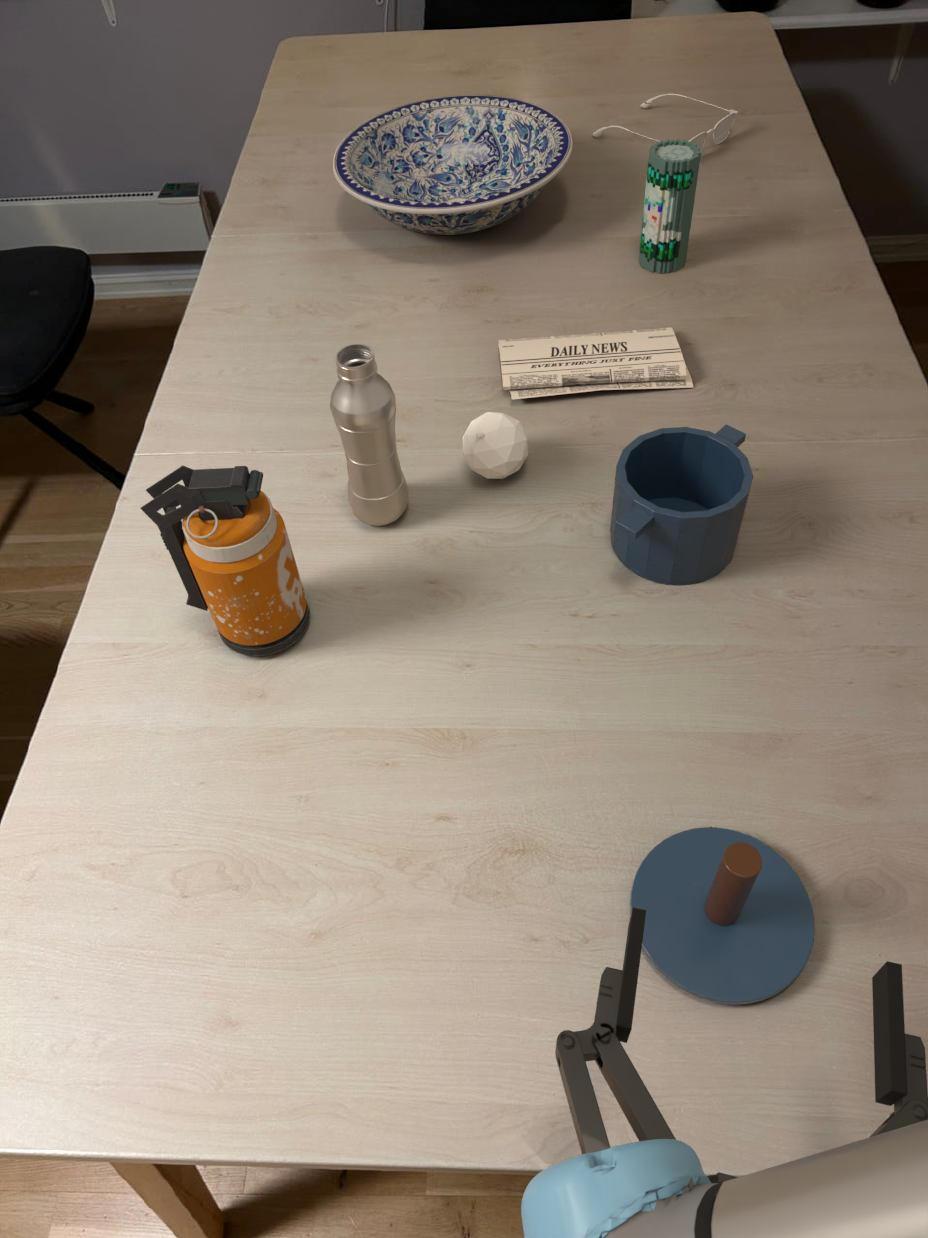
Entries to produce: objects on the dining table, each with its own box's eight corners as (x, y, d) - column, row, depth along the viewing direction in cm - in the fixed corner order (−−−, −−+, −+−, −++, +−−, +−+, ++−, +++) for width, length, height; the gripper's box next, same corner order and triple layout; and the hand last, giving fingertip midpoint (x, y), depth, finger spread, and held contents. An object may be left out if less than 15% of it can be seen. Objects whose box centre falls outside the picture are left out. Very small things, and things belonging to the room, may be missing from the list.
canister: (306, 658, 89) (259, 509, 74) (192, 663, 90) (121, 515, 74) (315, 587, 95) (272, 434, 79) (207, 592, 95) (144, 440, 80)
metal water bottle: (345, 531, 99) (311, 377, 84) (358, 488, 104) (328, 332, 88) (404, 535, 99) (381, 379, 83) (415, 491, 103) (395, 335, 87)
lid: (845, 910, 71) (885, 853, 63) (745, 1049, 66) (775, 1005, 58) (696, 802, 78) (715, 738, 70) (593, 920, 72) (602, 865, 64)
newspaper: (504, 407, 111) (503, 389, 109) (498, 355, 119) (498, 337, 118) (695, 393, 110) (698, 375, 108) (676, 342, 119) (678, 323, 117)
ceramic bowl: (331, 173, 150) (321, 108, 142) (540, 144, 152) (541, 78, 144) (354, 290, 128) (343, 220, 120) (597, 254, 131) (601, 183, 123)
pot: (773, 520, 97) (793, 450, 90) (670, 621, 90) (683, 555, 82) (673, 466, 103) (684, 397, 96) (569, 558, 95) (572, 490, 88)
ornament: (541, 479, 103) (512, 459, 96) (480, 490, 106) (448, 472, 99) (537, 418, 104) (509, 394, 97) (478, 431, 107) (445, 408, 100)
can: (630, 261, 129) (640, 151, 117) (659, 244, 131) (672, 134, 120) (664, 277, 126) (678, 167, 114) (693, 260, 128) (709, 149, 117)
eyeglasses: (680, 170, 144) (683, 144, 141) (588, 138, 152) (589, 113, 149) (735, 133, 151) (740, 107, 148) (644, 104, 159) (646, 79, 156)
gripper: (456, 1344, 45) (539, 920, 58) (1015, 1516, 40) (971, 1015, 53) (446, 1341, 39) (541, 870, 52) (1099, 1542, 34) (1027, 972, 47)
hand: (759, 943), depth 52 cm, fingers open, 13 cm apart
